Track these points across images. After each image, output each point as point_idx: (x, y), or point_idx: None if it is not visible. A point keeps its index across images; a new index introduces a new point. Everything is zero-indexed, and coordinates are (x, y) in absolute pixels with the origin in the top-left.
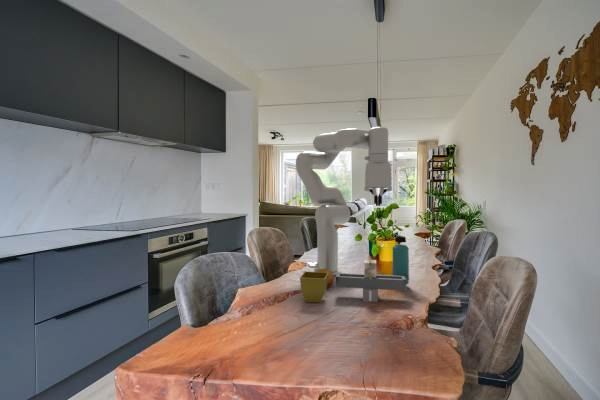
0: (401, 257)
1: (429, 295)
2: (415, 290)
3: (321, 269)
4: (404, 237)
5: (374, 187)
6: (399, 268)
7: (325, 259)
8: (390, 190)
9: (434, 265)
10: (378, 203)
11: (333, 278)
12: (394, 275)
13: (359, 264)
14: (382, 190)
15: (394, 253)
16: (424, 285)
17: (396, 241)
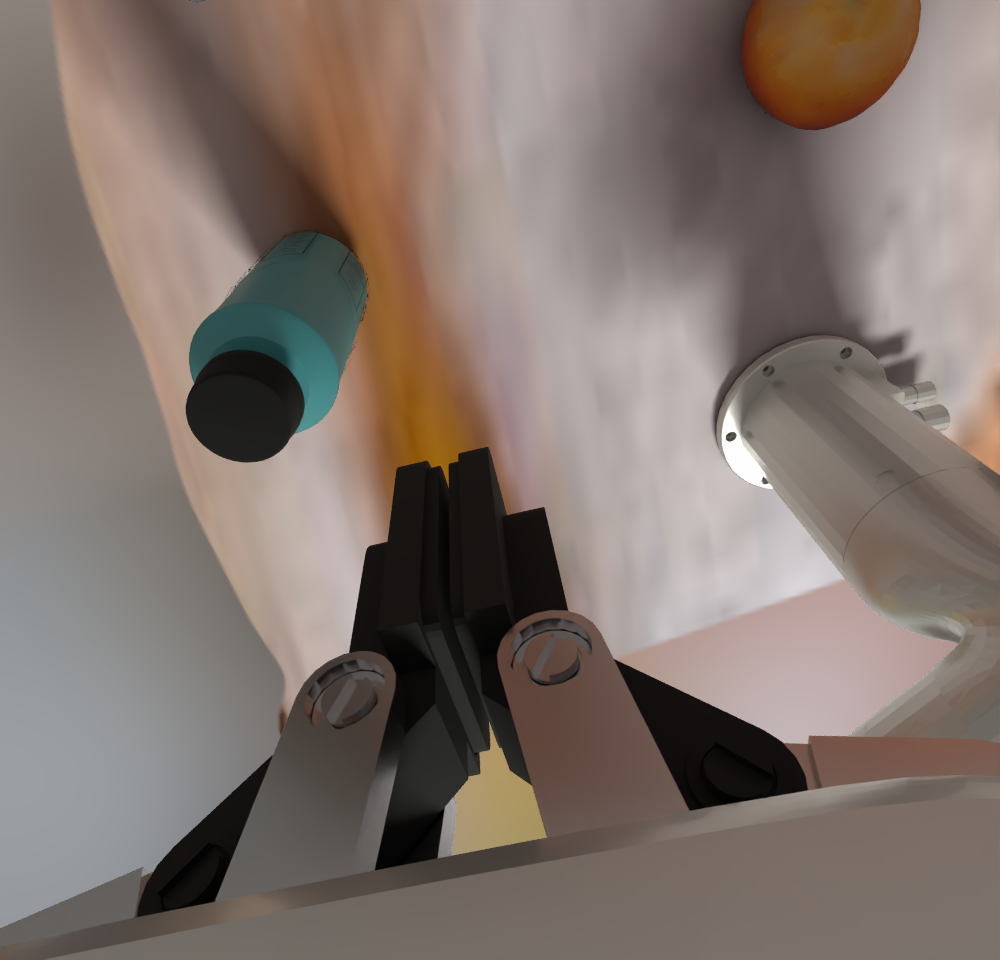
0: (252, 284)
1: (96, 137)
2: (213, 224)
3: (880, 39)
4: (188, 400)
5: (611, 830)
6: (286, 254)
7: (858, 396)
8: (20, 932)
9: None
10: (433, 491)
11: (751, 44)
12: (338, 257)
13: (638, 638)
14: (274, 837)
15: (312, 307)
16: None
17: (277, 363)
